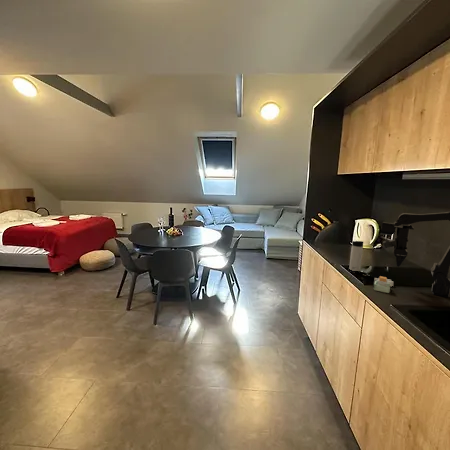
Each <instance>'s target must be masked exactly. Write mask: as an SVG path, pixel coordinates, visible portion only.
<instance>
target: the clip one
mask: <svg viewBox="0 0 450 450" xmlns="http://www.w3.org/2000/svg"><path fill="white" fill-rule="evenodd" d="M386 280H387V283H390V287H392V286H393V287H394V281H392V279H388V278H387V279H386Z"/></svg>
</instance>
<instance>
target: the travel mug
mask: <svg viewBox="0 0 450 450" xmlns="http://www.w3.org/2000/svg"><path fill="white" fill-rule="evenodd" d="M351 241H352V240H351ZM351 243H352V244H351V251H350V258H349V259H350V260H349V267H348V270H349V269H350V270H352V271H360V272H361V267H362V266H361V265H362V256H363V249H364V248H363V247H364V241H362V240H355V241H354V240H353V241H352V242H351Z"/></svg>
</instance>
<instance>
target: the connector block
mask: <svg viewBox="0 0 450 450" xmlns="http://www.w3.org/2000/svg"><path fill="white" fill-rule="evenodd" d="M378 278H379V279H378V285H382V286H387V280H386V279H388V278H387V277H386V276H381V275H380V276H379V277H378Z"/></svg>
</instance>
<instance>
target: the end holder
mask: <svg viewBox="0 0 450 450" xmlns="http://www.w3.org/2000/svg"><path fill="white" fill-rule="evenodd" d="M373 289H374V290H373V291H378V292H382V293H387V294H390V290H391V286H390V283H387V286H382V285H378V281H375V283H374V282H373Z"/></svg>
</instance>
